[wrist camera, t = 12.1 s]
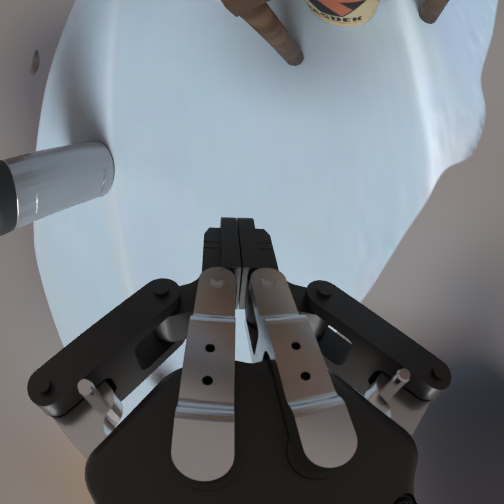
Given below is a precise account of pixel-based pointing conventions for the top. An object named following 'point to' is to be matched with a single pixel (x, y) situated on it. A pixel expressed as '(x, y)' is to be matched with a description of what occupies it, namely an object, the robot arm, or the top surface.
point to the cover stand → (272, 30)
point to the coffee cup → (343, 11)
